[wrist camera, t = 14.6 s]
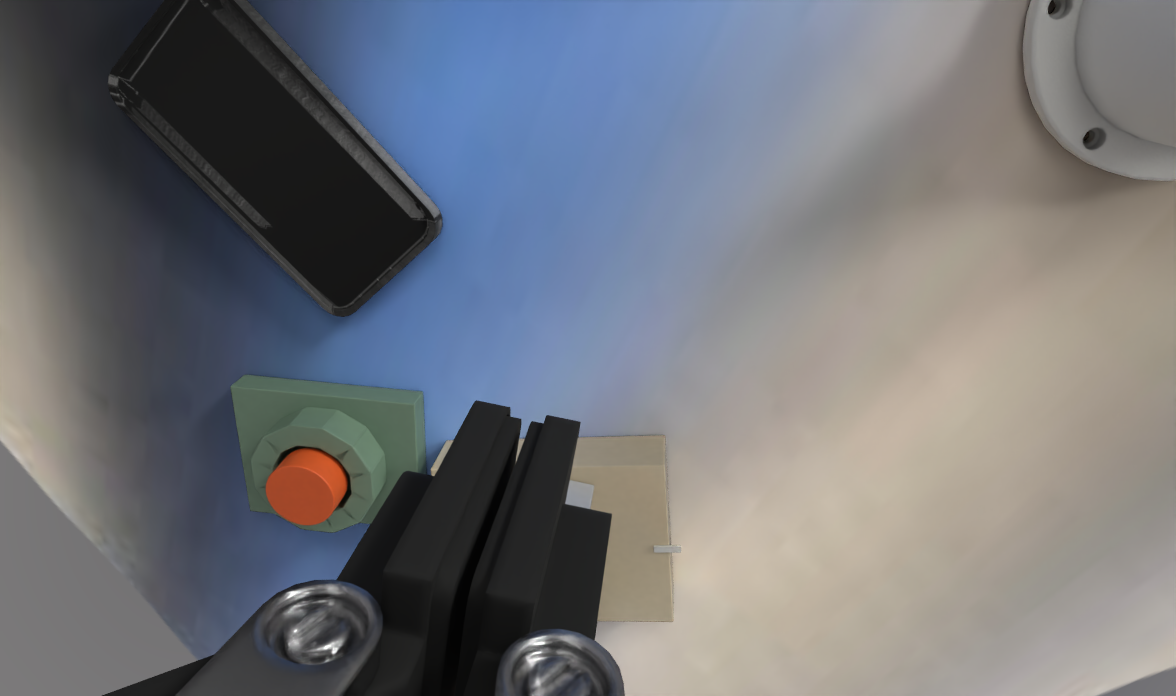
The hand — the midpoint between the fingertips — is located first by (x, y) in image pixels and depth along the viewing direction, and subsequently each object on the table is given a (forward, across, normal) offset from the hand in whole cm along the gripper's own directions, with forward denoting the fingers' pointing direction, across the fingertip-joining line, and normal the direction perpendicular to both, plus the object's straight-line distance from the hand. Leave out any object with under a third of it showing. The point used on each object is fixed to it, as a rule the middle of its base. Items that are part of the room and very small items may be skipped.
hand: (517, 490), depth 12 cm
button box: (+25, +13, +18) cm, 33 cm away
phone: (+25, +16, +2) cm, 30 cm away
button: (+22, +13, +18) cm, 31 cm away
